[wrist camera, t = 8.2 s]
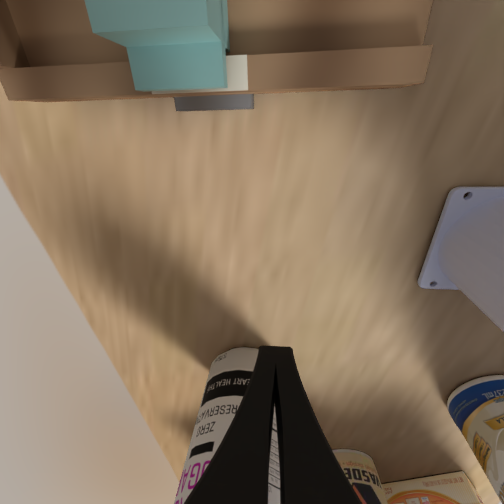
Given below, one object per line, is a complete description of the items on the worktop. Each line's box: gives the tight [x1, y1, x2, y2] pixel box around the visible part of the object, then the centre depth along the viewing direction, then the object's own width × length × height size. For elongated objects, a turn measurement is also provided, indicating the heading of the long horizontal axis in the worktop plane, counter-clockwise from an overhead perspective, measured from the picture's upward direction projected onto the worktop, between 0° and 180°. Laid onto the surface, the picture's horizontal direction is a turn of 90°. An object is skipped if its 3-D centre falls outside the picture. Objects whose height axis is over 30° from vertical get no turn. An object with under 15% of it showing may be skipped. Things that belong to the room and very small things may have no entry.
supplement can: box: [174, 347, 280, 504], centre depth 21 cm, size 8×8×15 cm
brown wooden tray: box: [0, 0, 433, 111], centre depth 12 cm, size 20×8×5 cm, turn 92°
